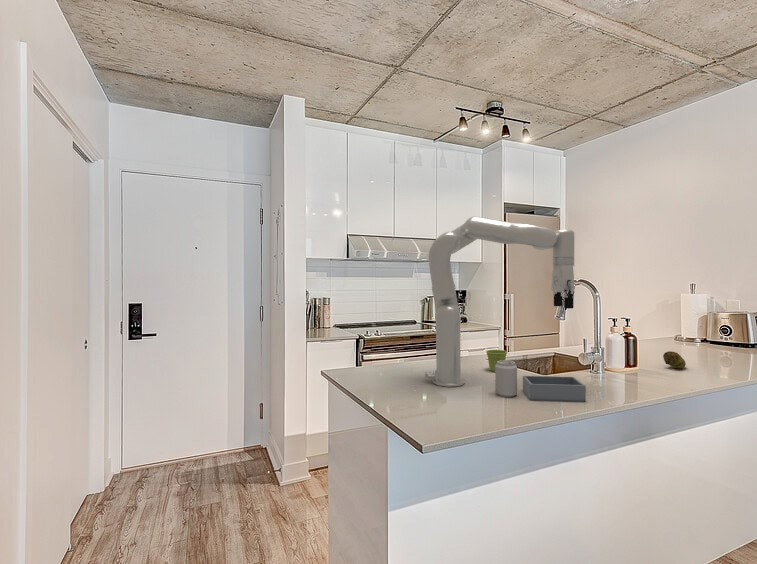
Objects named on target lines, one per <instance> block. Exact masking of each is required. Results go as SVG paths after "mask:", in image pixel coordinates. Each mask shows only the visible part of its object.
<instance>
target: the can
mask: <svg viewBox="0 0 757 564" xmlns="http://www.w3.org/2000/svg"><path fill="white" fill-rule="evenodd" d="M494 374H495V377H494V379H495V380H494V382H495V383H494V385H495V386H494V387H495V391H494V392H495V393H496V394H497V395H498V396H500V397H503V398H513V397H515V396H516V395H517V394H518V366H517V365H516V362H515V361H513V360H507V359H505V360H500V361H497V364H496V365H495V372H494Z"/></svg>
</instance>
